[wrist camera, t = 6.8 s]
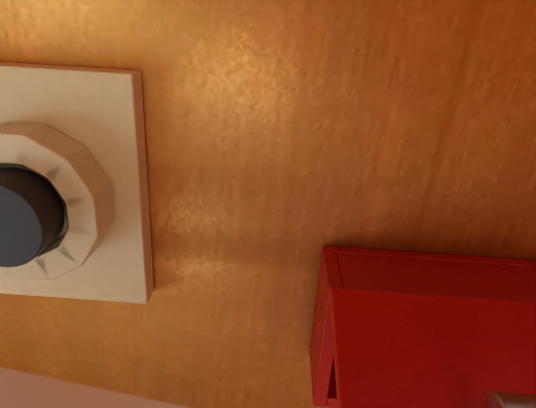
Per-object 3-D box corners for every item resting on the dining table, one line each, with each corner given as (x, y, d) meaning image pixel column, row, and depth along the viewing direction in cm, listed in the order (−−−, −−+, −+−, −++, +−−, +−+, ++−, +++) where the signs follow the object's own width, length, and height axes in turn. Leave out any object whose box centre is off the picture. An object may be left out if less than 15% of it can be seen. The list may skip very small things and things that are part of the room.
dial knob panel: (154, 290, 22) (135, 328, 19) (-17, 278, 22) (-60, 314, 19) (141, 70, 18) (115, 78, 15) (-71, 57, 18) (-136, 62, 15)
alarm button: (70, 249, 18) (49, 271, 17) (-13, 243, 18) (-42, 264, 17) (59, 169, 17) (35, 185, 15) (-31, 163, 17) (-64, 178, 15)
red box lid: (754, 536, 12) (870, 498, 9) (344, 504, 12) (367, 460, 10) (607, 314, 17) (659, 258, 15) (329, 295, 17) (342, 237, 15)
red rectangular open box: (514, 367, 23) (552, 424, 20) (309, 352, 23) (313, 406, 20) (553, 260, 21) (605, 306, 17) (322, 245, 21) (329, 287, 17)
